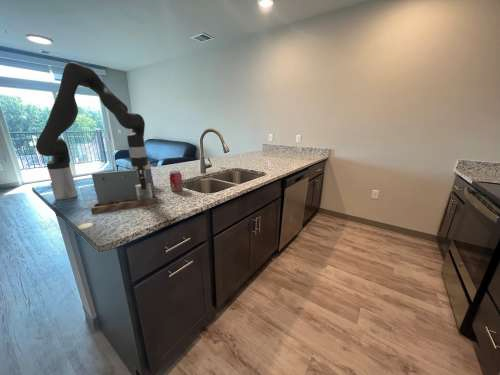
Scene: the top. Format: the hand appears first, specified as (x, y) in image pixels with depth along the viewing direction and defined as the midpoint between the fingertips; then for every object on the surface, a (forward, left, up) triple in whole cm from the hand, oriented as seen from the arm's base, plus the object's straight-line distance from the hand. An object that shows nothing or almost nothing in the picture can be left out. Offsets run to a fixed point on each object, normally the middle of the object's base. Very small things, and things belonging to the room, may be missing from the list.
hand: (143, 186), depth 107 cm
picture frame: (0, 0, -9) cm, 9 cm away
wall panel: (-9, +11, -9) cm, 17 cm away
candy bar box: (0, +30, -9) cm, 31 cm away
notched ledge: (-9, 0, -9) cm, 13 cm away
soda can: (+18, +14, -9) cm, 25 cm away
